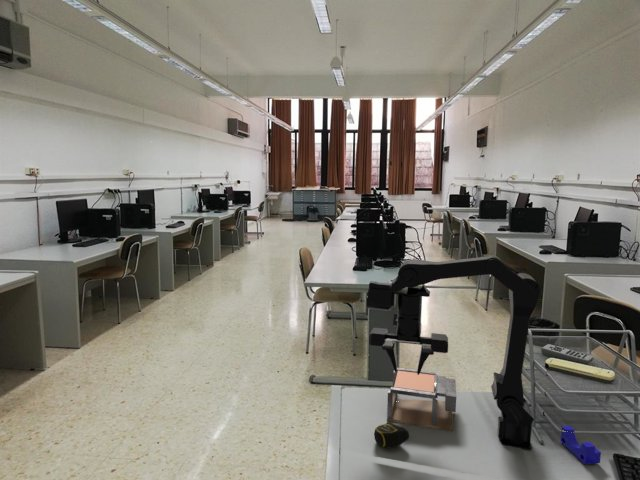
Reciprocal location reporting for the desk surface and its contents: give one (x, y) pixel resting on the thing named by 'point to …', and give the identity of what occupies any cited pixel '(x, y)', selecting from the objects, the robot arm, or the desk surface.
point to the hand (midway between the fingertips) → (407, 372)
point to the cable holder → (580, 447)
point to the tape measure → (390, 435)
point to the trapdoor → (429, 386)
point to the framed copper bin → (417, 407)
